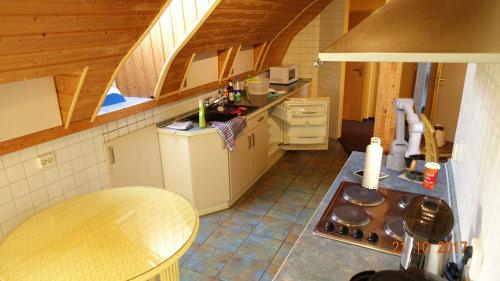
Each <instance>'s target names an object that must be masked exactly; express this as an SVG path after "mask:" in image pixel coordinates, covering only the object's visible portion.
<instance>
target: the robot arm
mask: <svg viewBox="0 0 500 281" xmlns="http://www.w3.org/2000/svg"><path fill="white" fill-rule="evenodd" d="M413 107H414V99H413V98H412V97H411V98H405V97H404V98H403V97H398V98H397V97H396V98H394V102H393V112H394V113H395V116H396V117H395V139H394V140H393V141H391V143H390V146H389V153H388V155H387V158H386V163H385V164H386V166H385V168H387V169H391V170H393V171H397V172H401V171H404V170H406V169H405V166H404V165H406V167H407V168H410V167H411V164H412V161H413V160H416V162H417V161H418V159H419V157H421V149H420V145H421V144H420V143H421V139H422V134H424V132H425V129H426V128H425V124H424V122H422V121H420V118H419V116H418V114H416V113H415V112H414V109H413ZM405 115H407V116H406V119H405ZM405 120H406V121H407V123H408V135H409V138H408V142H407V140H405ZM404 163H405V164H404Z"/></svg>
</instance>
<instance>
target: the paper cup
mask: <svg viewBox="0 0 500 281" xmlns="http://www.w3.org/2000/svg"><path fill="white" fill-rule="evenodd" d="M440 169H441V166H440V164H439V163H437V162H434V161H433V162H432V161H428V162H427V161H426V162H425V164H424V171H423V172H424V181H423V184H422V187H423V188H424V189H426V190H434V189H435V187H436V184H437V183H436V182H437V179H438V177H439V176H438V175H439V172H440Z"/></svg>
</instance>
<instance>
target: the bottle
mask: <svg viewBox="0 0 500 281" xmlns="http://www.w3.org/2000/svg"><path fill="white" fill-rule="evenodd" d="M383 151H384V147H382V146H381V138H379V137H371V139H370V144H368V145H367V146H366V150H365V157H364V167H363V176H362V181H361V182H362V183H361V187H362V186H363V187H365V188H369V189H377V190H378V188H379V187H378V186H379V181H380V180H379V179H380V173H381V166H382V159H383V158H382V157H383Z"/></svg>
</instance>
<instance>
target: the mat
mask: <svg viewBox="0 0 500 281" xmlns="http://www.w3.org/2000/svg"><path fill="white" fill-rule="evenodd" d="M397 177H398V178H401V179H405V180H407V181H410V182H414V183H418V184H421V185H423V182H416V181H412V180H409V179H407V178H406V172H404V173H402V174H400V175H398V176H397Z"/></svg>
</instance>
